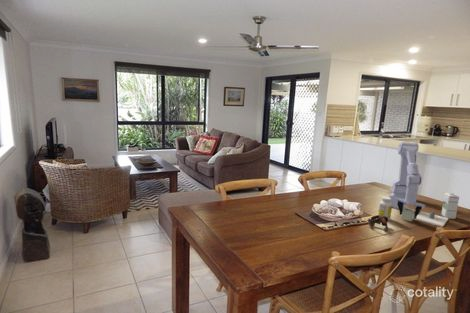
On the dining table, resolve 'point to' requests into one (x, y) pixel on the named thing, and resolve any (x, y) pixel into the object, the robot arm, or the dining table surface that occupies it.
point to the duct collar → (408, 214)
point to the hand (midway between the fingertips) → (407, 216)
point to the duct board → (431, 218)
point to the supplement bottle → (385, 207)
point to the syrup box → (450, 205)
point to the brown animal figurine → (378, 219)
